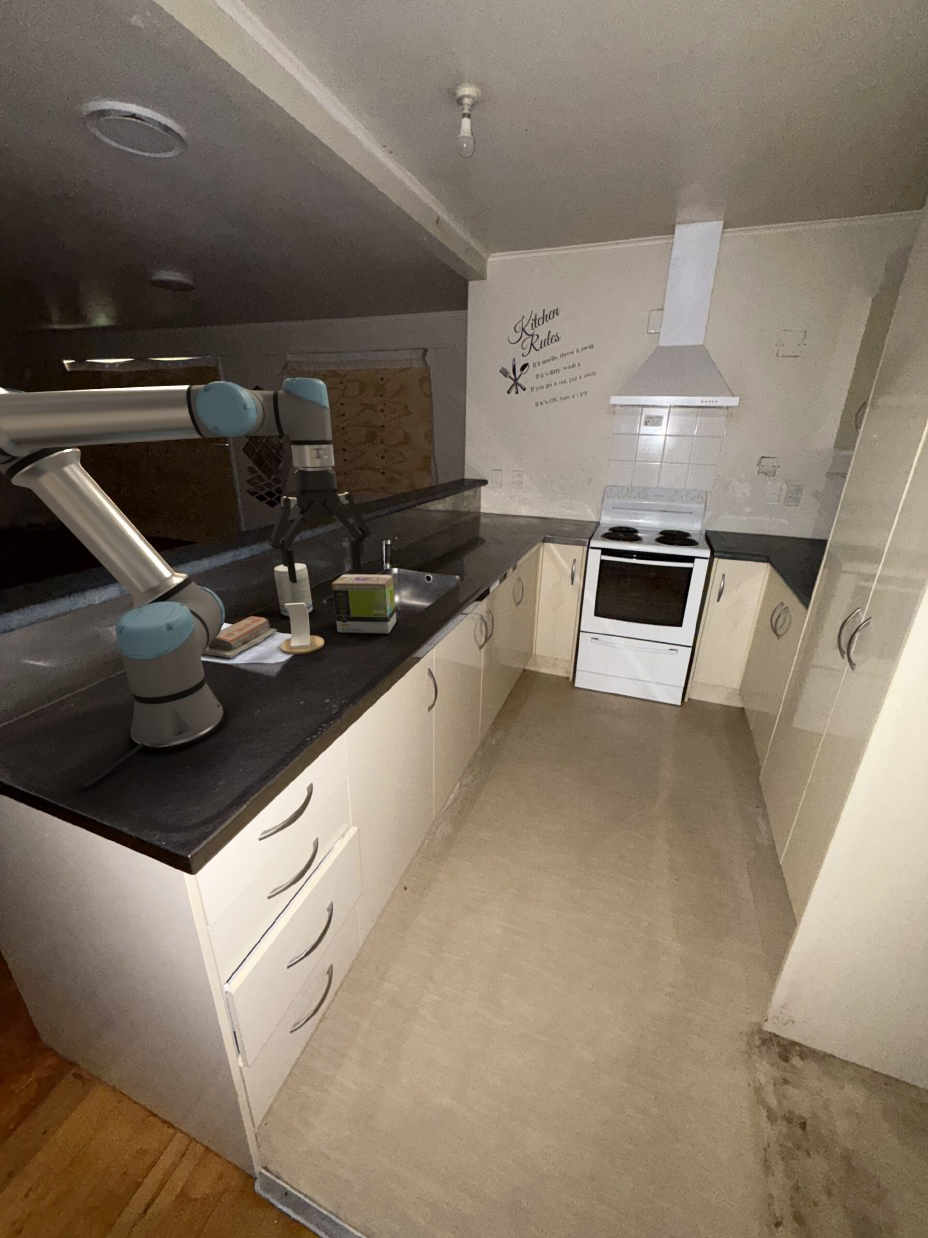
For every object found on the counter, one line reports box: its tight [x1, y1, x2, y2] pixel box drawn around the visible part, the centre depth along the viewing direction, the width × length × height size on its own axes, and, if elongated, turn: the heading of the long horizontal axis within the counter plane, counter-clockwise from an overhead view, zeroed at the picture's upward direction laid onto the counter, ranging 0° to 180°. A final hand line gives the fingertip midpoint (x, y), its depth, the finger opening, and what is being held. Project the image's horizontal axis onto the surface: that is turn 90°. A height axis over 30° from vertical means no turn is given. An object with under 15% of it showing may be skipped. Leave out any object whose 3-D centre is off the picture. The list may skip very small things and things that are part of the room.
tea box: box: [331, 573, 397, 634], centre depth 137 cm, size 15×10×15 cm, turn 84°
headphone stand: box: [284, 603, 311, 649], centre depth 125 cm, size 5×6×12 cm
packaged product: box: [201, 615, 278, 659], centre depth 128 cm, size 18×5×10 cm
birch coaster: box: [280, 635, 325, 655], centre depth 128 cm, size 11×11×1 cm
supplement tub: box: [273, 562, 314, 618], centre depth 149 cm, size 10×10×15 cm
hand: (326, 576), depth 100 cm, fingers open, 13 cm apart
